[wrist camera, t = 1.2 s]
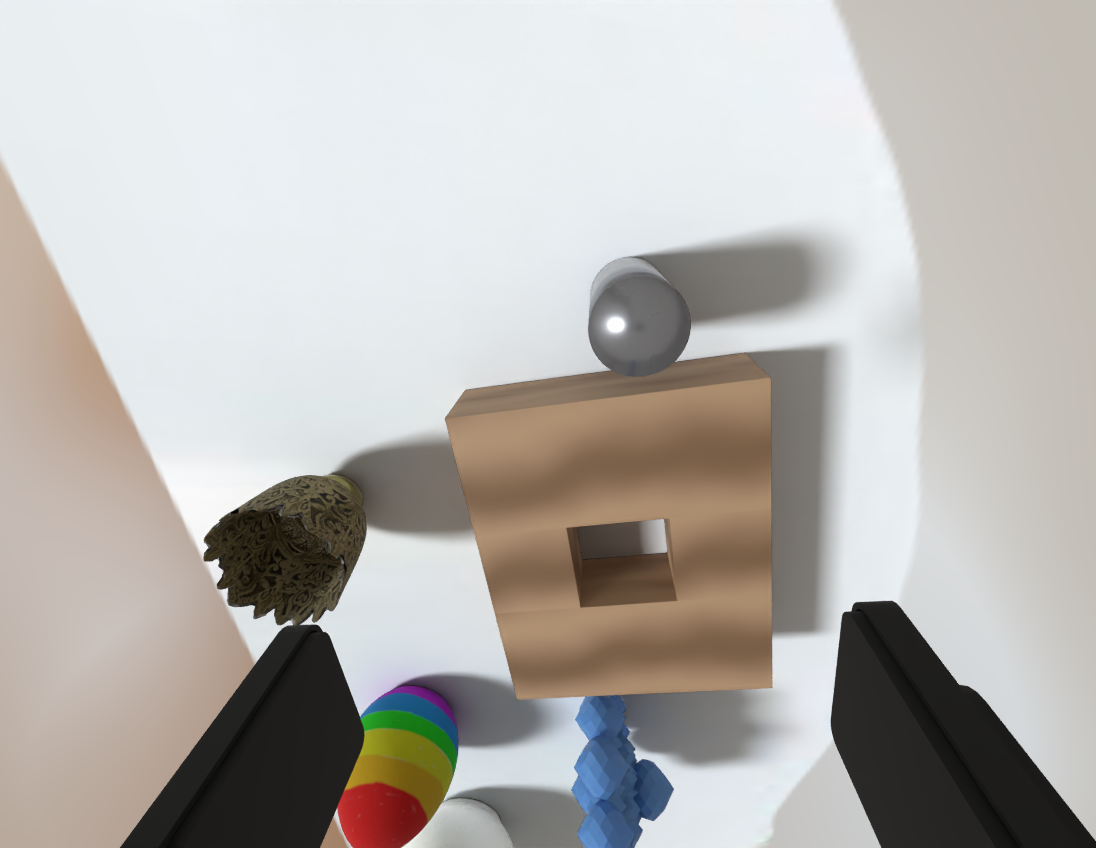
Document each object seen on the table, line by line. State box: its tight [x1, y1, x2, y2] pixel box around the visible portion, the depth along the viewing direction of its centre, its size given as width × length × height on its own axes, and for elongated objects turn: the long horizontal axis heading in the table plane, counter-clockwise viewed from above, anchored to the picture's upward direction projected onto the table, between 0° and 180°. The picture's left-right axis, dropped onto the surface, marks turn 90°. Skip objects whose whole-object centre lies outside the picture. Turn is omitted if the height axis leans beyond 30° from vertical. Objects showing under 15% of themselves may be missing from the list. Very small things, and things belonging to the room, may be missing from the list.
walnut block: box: [445, 353, 772, 700], centre depth 31 cm, size 20×16×4 cm
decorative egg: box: [337, 686, 458, 848], centre depth 37 cm, size 8×8×10 cm
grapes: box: [571, 695, 674, 848], centre depth 34 cm, size 12×7×12 cm, turn 8°
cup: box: [204, 475, 367, 625], centre depth 31 cm, size 8×7×8 cm
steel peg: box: [588, 257, 691, 377], centre depth 24 cm, size 4×4×8 cm
